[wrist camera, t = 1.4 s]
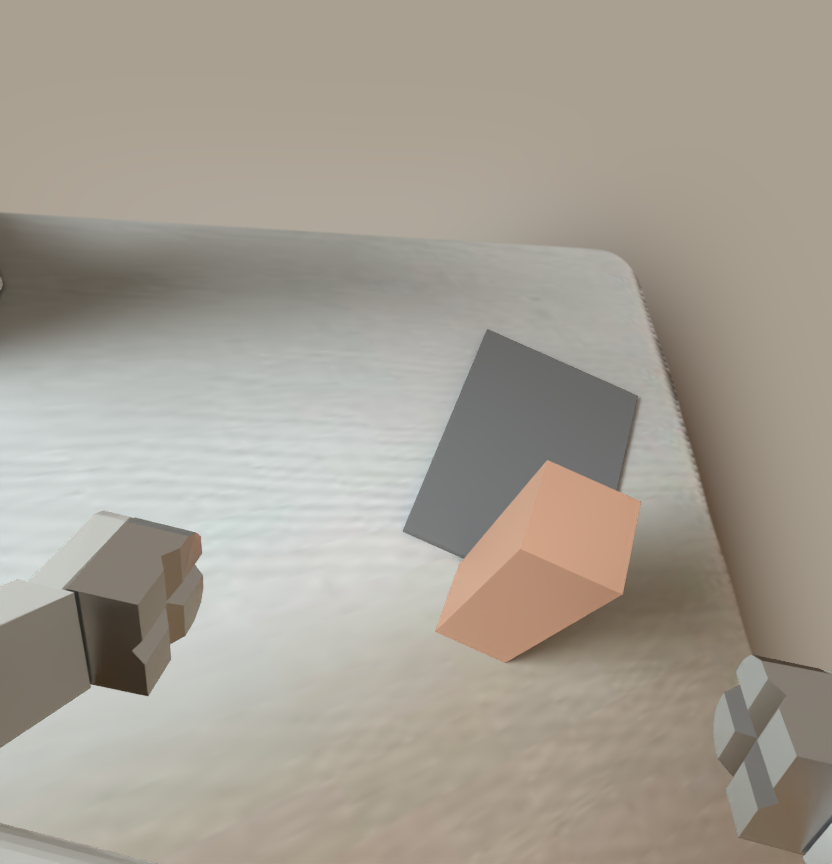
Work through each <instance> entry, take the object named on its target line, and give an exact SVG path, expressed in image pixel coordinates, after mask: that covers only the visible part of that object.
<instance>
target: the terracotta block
mask: <svg viewBox="0 0 832 864" xmlns="http://www.w3.org/2000/svg"><path fill="white" fill-rule="evenodd" d="M640 505H641V501H638V500H636V499H634V498H632V497H629V496H627V495H625V494H623V493H620V492H618V491H616V490H614V489H611V488H609V487H607V486H605V485H602V484H600V483H598V482H596V481H593V480H591V479H589V478H587V477H585V476H582V475H580V474H578V473H576V472H573V471H571V470H569V469H567V468H564V467H562V466H560V465H558V464H555V463H553V462H551V461H549V460H547V461H546V462H545V463H544V464H543V466H542V467H541V468H540V469H539V470H538V472H537V473H536V474H535V475H534V476H533V477H532V479H531V480H530V481H529V482H528V483H527V485H526V486H525V487H524V488H523V489H522V490H521V492H520V493H519V494H518V495H517V496H516V498H515V499H514V500H513V501H512V502H511V504H510V505H509V506H508V507H507V508H506V509H505V511H504V512H503V513H502V514H501V515H500V517H499V518H498V519H497V520H496V521H495V522H494V524H493V525H492V526H491V527H490V528H489V530H488V531H487V532H486V533H485V534H484V535H483V537H482V538H481V539H480V540H479V541H478V543H477V544H476V545H475V546H474V547H473V548H472V550H471V551H470V552H469V553H468V554H467V556H466V557H465V558H464V559H463V560H462V561H461V563H460V564H459V566H458V569H457V572H456V575H455V578H454V580H453V583H452V586H451V589H450V592H449V594H448V597H447V600H446V603H445V606H444V609H443V611H442V614H441V617H440V620H439V623H438V625H437V628H436V631H435V632H438V633H440V634H442V635H444V636H447V637H449V638H451V639H453V640H456V641H458V642H460V643H462V644H465V645H467V646H469V647H471V648H473V649H476V650H478V651H480V652H482V653H485V654H487V655H489V656H491V657H494V658H496V659H498V660H500V661H503V662H505V663H506V662H508V661H509V660H511V659H513V658H514V657H516V656H518V655H520V654H521V653H523V652H525V651H526V650H528V649H530V648H532V647H533V646H535V645H537V644H538V643H540V642H542V641H544V640H545V639H547V638H549V637H550V636H552V635H554V634H556V633H557V632H559V631H561V630H563V629H564V628H566V627H568V626H569V625H571V624H573V623H575V622H576V621H578V620H580V619H581V618H583V617H585V616H587V615H588V614H590V613H592V612H593V611H595V610H597V609H599V608H600V607H602V606H604V605H605V604H607V603H609V602H611V601H612V600H614V599H616V598H618V597H619V596H621V595H623V591H624V585H625V580H626V575H627V570H628V565H629V560H630V555H631V550H632V545H633V540H634V535H635V530H636V525H637V520H638V515H639V510H640Z"/></svg>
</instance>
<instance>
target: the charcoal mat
mask: <svg viewBox="0 0 832 864" xmlns="http://www.w3.org/2000/svg"><path fill="white" fill-rule="evenodd" d="M637 398H638V396H637V395H635V394H632V393H630V392H628V391H626V390H623V389H621V388H619V387H617V386H614V385H612V384H610V383H608V382H605V381H603V380H601V379H599V378H596V377H594V376H592V375H590V374H587V373H585V372H583V371H581V370H578V369H576V368H574V367H572V366H569V365H567V364H565V363H563V362H560V361H558V360H556V359H554V358H551V357H549V356H547V355H545V354H542V353H540V352H538V351H536V350H533V349H531V348H529V347H527V346H524V345H522V344H520V343H518V342H515V341H513V340H511V339H509V338H506V337H504V336H502V335H500V334H497V333H495V332H493V331H490V330H487V332H486V334H485V336H484V339H483V341H482V343H481V346H480V348H479V350H478V353H477V355H476V358H475V360H474V362H473V365H472V367H471V370H470V372H469V374H468V377H467V379H466V381H465V384H464V386H463V389H462V391H461V393H460V396H459V398H458V401H457V403H456V405H455V408H454V410H453V412H452V415H451V417H450V420H449V422H448V424H447V427H446V429H445V432H444V434H443V436H442V439H441V441H440V443H439V446H438V448H437V451H436V453H435V455H434V458H433V460H432V463H431V465H430V467H429V470H428V472H427V474H426V477H425V479H424V482H423V484H422V486H421V489H420V491H419V494H418V496H417V498H416V501H415V503H414V505H413V508H412V510H411V513H410V515H409V517H408V520H407V522H406V525H405V527H404V529H403V532H405V533H408V534H410V535H412V536H414V537H417V538H419V539H421V540H423V541H426V542H428V543H430V544H432V545H434V546H437V547H439V548H441V549H443V550H446V551H448V552H450V553H452V554H455V555H457V556H459V557H461V558H465V557H466V556H467V554H468V553H469V552H470V551H471V550H472V548H473V547H474V546H475V545H476V544H477V543H478V541H479V540H480V539H481V538H482V537H483V535H484V534H485V533H486V532H487V531H488V530H489V528H490V527H491V526H492V525H493V524H494V522H495V521H496V520H497V519H498V518H499V517H500V515H501V514H502V513H503V512H504V511H505V509H506V508H507V507H508V506H509V505H510V504H511V502H512V501H513V500H514V499H515V498H516V496H517V495H518V494H519V493H520V492H521V490H522V489H523V488H524V487H525V486H526V485H527V483H528V482H529V481H530V480H531V479H532V477H533V476H534V475H535V474H536V473H537V472H538V470H539V469H540V468H541V467H542V466H543V464H544V463H545V462H546V461H547V460H549V461H551V462H553V463H555V464H558V465H560V466H562V467H564V468H567V469H569V470H571V471H573V472H576V473H578V474H580V475H582V476H585V477H587V478H589V479H591V480H593V481H596V482H598V483H600V484H602V485H605V486H607V487H609V488H611V489H614V490H616V491H617V487H618V482H619V478H620V473H621V469H622V464H623V460H624V455H625V451H626V447H627V442H628V438H629V433H630V429H631V424H632V420H633V415H634V411H635V407H636V402H637Z"/></svg>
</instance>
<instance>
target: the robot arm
mask: <svg viewBox="0 0 832 864" xmlns="http://www.w3.org/2000/svg"><path fill="white" fill-rule="evenodd" d="M2 286H3V282H2V279H1V277H0V290H1V289H2ZM201 554H202V547H201V536H199V535H198V534H197V533H195V532H192V531H187V530H183V529H179V528H175V527H171V526H167V525H163V524H159V523H155V522H151V521H147V520H143V519H139V518H131V517H127V516H123V515H119V514H115V513H111V512H107V511H101V512H99V513H96V514H94V515H93V516H91V517H90V518H89V519H88V520H87V522H86V523H85V524H84V525H83V526H82V527H81V528H80V529H79V530H78V531H77V532H76V533H75V534H74V535H73V536H72V537H71V538H70V539H69V540H68V541H67V542H66V543H65V544H64V545H63V546H62V547H61V548H60V549H59V550H58V551H57V552H56V553H55V554H54V555H53V556H52V557H51V558H50V559H49V560H48V561H47V562H46V563H45V564H44V565H43V566H42V567H41V568H40V569H39V570H38V571H37V572H36V573H35V574H34V575H33V576H32V577H31V578H30V579H29V580H28V581H23V580H18V579H17V580H15V581H12V582H10V583H7V584H5V585H2V586H0V748H1V747H2V746H4V745H5V744H7V743H8V742H10V741H11V740H13V739H14V738H16V737H17V736H19V735H20V734H22V733H23V732H25V731H26V730H28V729H29V728H31V727H32V726H34V725H35V724H37V723H39V722H40V721H42V720H43V719H45V718H46V717H48V716H49V715H51V714H52V713H54V712H55V711H57V710H58V709H60V708H61V707H63V706H64V705H66V704H67V703H69V702H70V701H72V700H73V699H75V698H76V697H78V696H79V695H81V694H82V693H84V692H85V691H87V690H88V689H90V687H91V685H96V686H101V687H106V688H111V689H115V690H120V691H125V692H130V693H135V694H139V695H144V696H149V694H150V692H151V691H152V689H153V688H154V686H155V684H156V683H157V681H158V679H159V678H160V676H161V675H162V673H163V671H164V670H165V668H166V667H167V665H168V663H169V662H170V660H171V652H170V644H171V643H173V642H175V641H177V640H179V639H180V638H182V637H184V636H186V634H187V632H188V630H189V629H190V627H191V625H192V624H193V622H194V620H195V617H196V614H197V612H198V609H199V606H200V603H201V598H202V592H203V575H202V573H201V572H200V571H199V570H198V568H197V567H196V566H195V563H196V562H197V560H198V559H199V557H200V556H201ZM736 674H737V677H738V680H739V683H740V685H738V686H736V687H734V688H732V689H730V690H728V691H726V692H724V693H723V695H722V697H721V699H720V701H719V703H718V705H717V707H716V711H715V717H714V723H713V736H714V745H715V749H716V753H717V757H718V760H719V761H720V762H721V763H722V765H723V766H724V767H725V768H726V769H727V770H728V772H729V773H730V774H731V775H732V776H733V778H732V779H731V781H730V783H729V785H728V786H727V788H726V793H727V797H728V801H729V804H730V808H731V812H732V816H733V820H734V823H735V827H736V831H737V835H738V838H741V839H745V840H749V841H753V842H756V843H760V844H764V845H768V846H771V847H775V848H779V849H783V850H786V851H790V852H794V853H798V854H801V855H804V856H803V860H804V861H805V863H806V864H832V671H829V670H821V669H818V668H813V667H808V666H804V665H799V664H795V663H790V662H785V661H780V660H776V659H771V658H766V657H761V656H757V655H752V654H751V655H750V656H748V657H747V658H745V659H744V660H743V661H742V663H741V664H740V666H739V668H738V669H737V671H736ZM90 684H91V685H90ZM0 864H158V863H154V862H150V861H146V860H142V859H138V858H134V857H130V856H127V855H123V854H119V853H115V852H111V851H107V850H103V849H99V848H95V847H92V846H88V845H84V844H80V843H76V842H72V841H68V840H64V839H61V838H57V837H53V836H49V835H45V834H41V833H37V832H33V831H29V830H26V829H22V828H18V827H14V826H10V825H6V824H2V823H0Z"/></svg>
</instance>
